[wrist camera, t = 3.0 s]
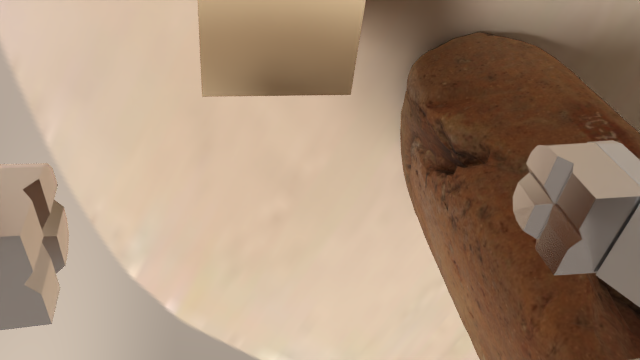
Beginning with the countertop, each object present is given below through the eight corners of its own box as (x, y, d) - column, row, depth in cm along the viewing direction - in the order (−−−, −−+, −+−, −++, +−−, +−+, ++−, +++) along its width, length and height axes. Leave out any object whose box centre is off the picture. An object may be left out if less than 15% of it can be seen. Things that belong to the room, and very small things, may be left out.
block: (524, 170, 31) (825, 580, 17) (401, 207, 31) (593, 647, 17) (534, -2, 24) (1089, 456, 9) (374, 46, 24) (674, 577, 9)
